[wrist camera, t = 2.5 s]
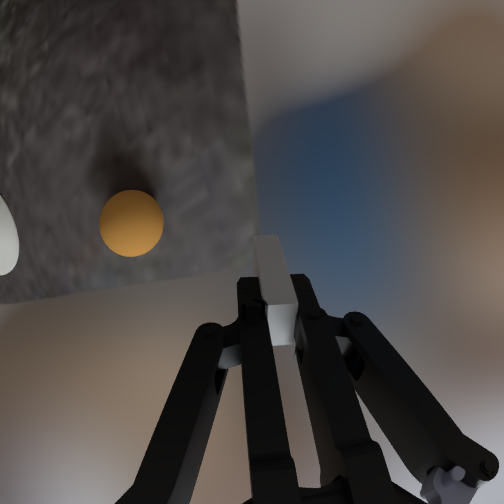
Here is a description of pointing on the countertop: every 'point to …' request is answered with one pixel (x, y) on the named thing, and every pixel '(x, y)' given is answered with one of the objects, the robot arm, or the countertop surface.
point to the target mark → (7, 239)
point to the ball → (131, 223)
